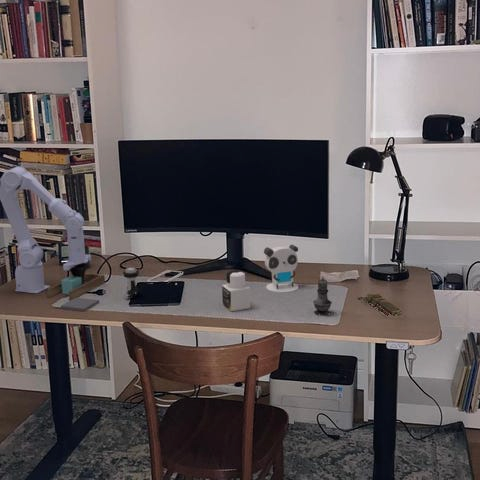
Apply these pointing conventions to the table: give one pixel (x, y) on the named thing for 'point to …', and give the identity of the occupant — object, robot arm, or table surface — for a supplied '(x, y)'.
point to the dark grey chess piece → (322, 299)
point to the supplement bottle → (87, 252)
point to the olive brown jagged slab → (382, 304)
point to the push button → (131, 281)
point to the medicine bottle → (236, 291)
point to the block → (70, 284)
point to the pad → (79, 304)
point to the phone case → (164, 273)
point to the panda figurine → (281, 268)
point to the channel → (92, 283)
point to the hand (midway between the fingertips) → (79, 284)
